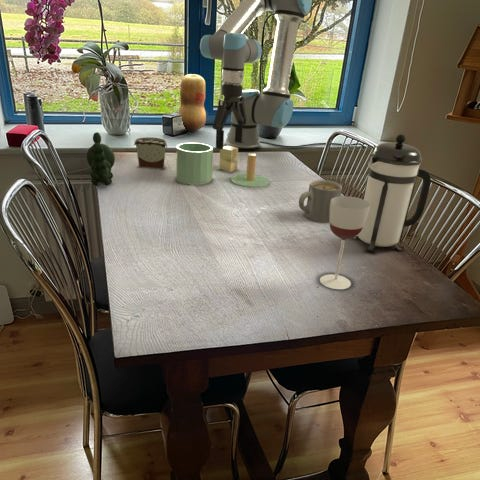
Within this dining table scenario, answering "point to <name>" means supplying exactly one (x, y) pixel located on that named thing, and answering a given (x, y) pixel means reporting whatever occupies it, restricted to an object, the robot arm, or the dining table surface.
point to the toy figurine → (100, 161)
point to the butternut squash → (192, 102)
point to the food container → (151, 152)
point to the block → (228, 158)
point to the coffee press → (392, 193)
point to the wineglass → (345, 231)
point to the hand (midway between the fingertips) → (229, 145)
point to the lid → (250, 175)
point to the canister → (194, 163)
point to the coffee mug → (319, 199)
